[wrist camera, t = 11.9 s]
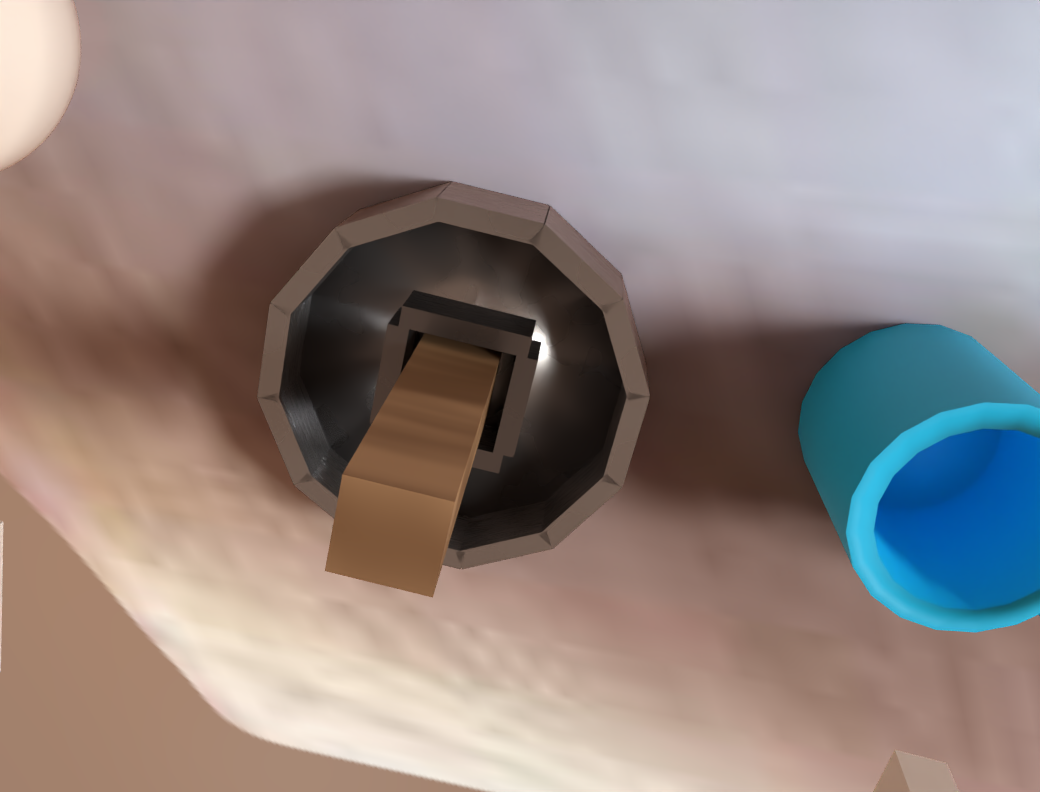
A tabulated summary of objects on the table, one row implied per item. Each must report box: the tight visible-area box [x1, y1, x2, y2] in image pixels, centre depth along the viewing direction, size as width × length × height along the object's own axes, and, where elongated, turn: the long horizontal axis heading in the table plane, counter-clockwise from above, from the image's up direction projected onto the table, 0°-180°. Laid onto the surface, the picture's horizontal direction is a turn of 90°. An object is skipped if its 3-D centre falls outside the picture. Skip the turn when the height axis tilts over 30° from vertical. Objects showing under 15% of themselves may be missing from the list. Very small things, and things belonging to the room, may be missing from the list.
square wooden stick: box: [325, 333, 502, 597], centre depth 31 cm, size 3×3×13 cm
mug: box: [798, 323, 1040, 632], centre depth 34 cm, size 12×8×8 cm
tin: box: [257, 182, 650, 569], centre depth 37 cm, size 14×14×4 cm
